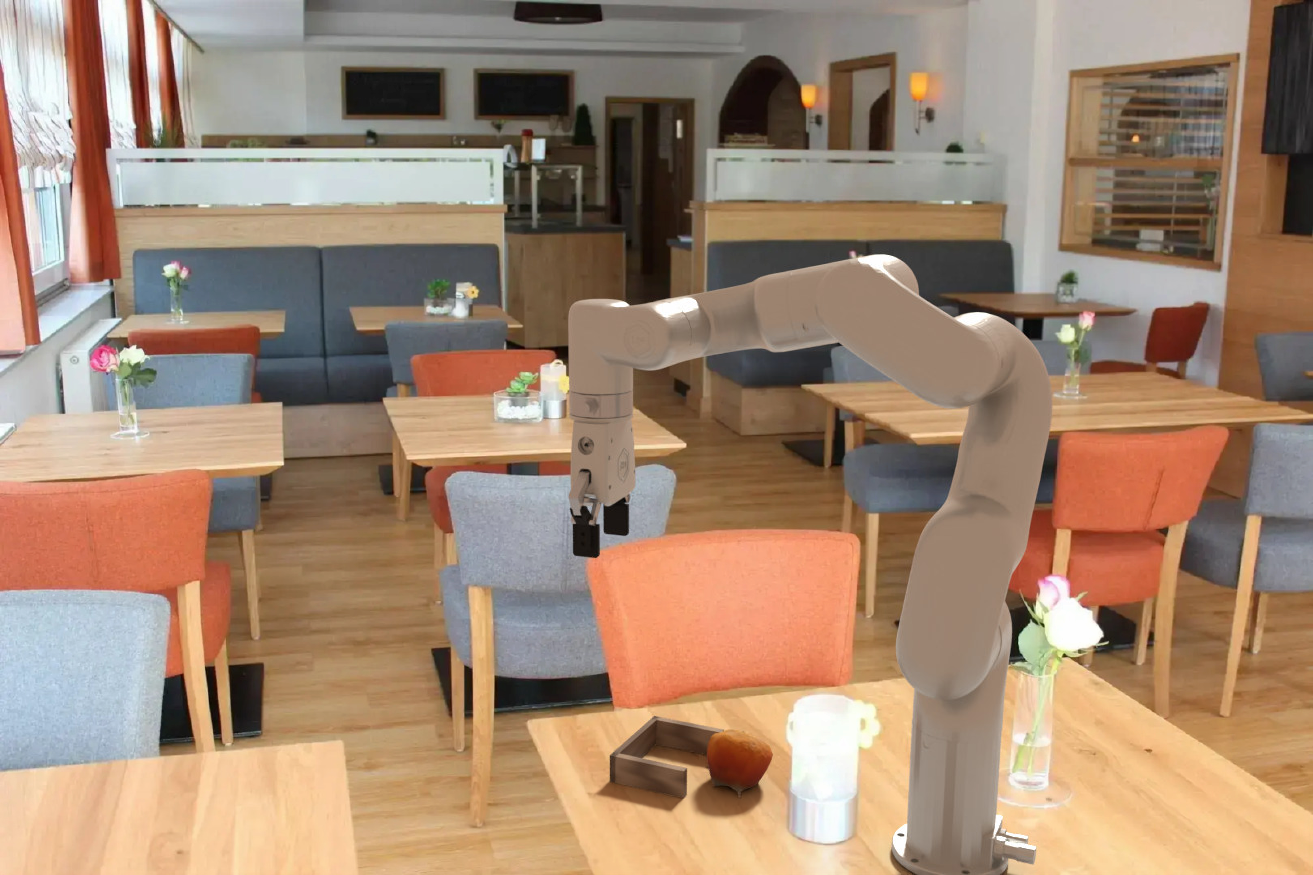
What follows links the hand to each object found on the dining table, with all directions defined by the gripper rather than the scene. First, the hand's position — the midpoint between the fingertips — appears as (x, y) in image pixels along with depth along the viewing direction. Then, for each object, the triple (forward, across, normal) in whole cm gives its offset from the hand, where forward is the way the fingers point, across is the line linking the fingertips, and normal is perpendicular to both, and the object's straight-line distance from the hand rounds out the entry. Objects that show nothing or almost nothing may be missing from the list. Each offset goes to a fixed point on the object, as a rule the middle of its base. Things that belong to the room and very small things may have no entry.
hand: (601, 545), depth 155 cm
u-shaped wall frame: (+30, +5, -7) cm, 31 cm away
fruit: (+30, +4, -16) cm, 35 cm away
